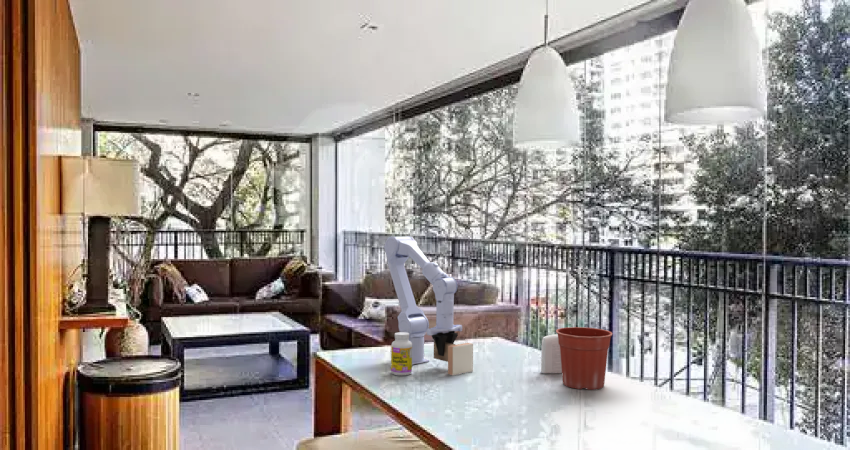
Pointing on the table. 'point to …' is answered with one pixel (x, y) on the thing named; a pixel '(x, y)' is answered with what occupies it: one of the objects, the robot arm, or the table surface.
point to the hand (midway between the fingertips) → (444, 354)
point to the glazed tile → (460, 358)
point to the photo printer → (551, 355)
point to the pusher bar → (445, 357)
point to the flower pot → (583, 356)
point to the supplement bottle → (401, 354)
